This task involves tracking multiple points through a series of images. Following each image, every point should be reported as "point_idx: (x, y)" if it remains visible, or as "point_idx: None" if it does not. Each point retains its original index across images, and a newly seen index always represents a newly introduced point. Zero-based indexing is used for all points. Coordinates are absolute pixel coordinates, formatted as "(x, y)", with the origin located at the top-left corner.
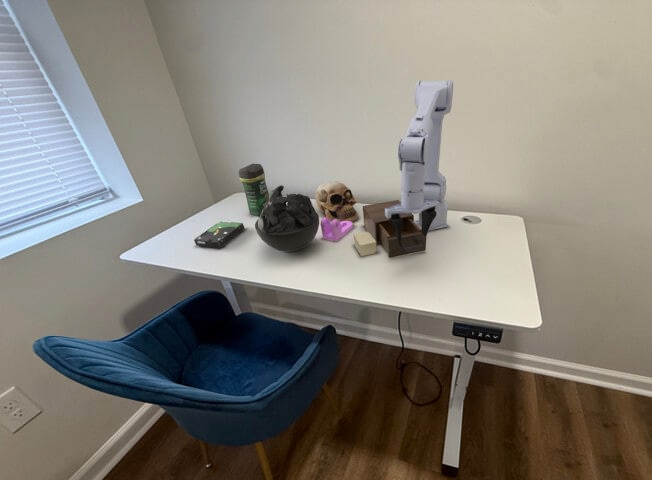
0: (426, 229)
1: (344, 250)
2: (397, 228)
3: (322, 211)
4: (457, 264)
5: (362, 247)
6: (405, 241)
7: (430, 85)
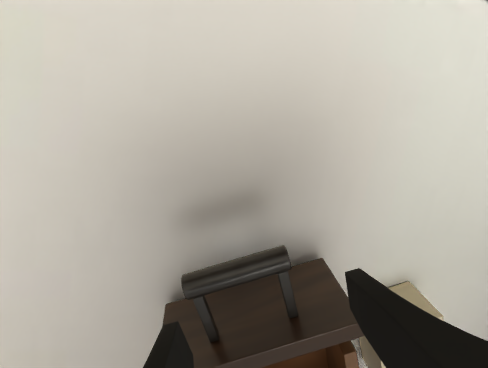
0: (161, 366)
1: (451, 315)
2: (464, 337)
3: None
4: (28, 208)
5: (427, 309)
6: (267, 326)
7: None
